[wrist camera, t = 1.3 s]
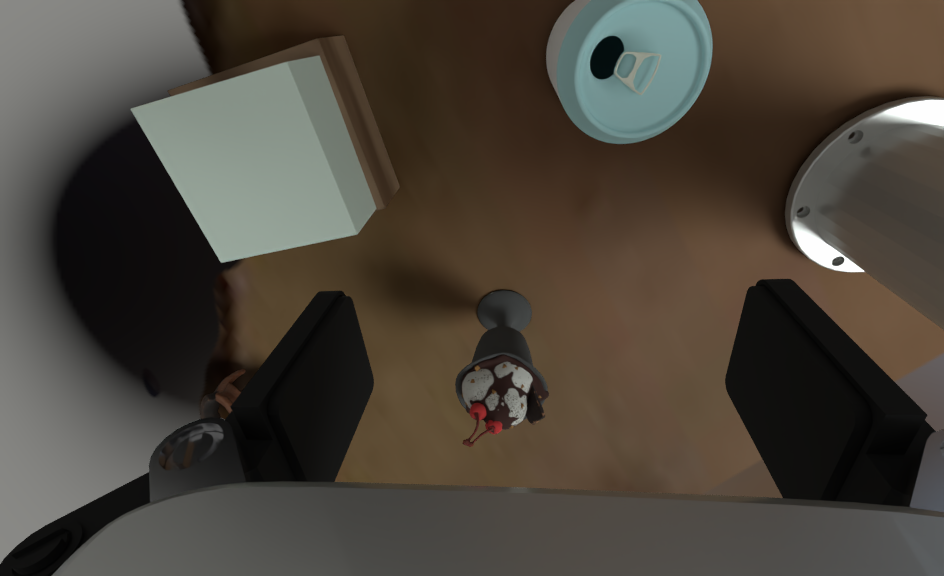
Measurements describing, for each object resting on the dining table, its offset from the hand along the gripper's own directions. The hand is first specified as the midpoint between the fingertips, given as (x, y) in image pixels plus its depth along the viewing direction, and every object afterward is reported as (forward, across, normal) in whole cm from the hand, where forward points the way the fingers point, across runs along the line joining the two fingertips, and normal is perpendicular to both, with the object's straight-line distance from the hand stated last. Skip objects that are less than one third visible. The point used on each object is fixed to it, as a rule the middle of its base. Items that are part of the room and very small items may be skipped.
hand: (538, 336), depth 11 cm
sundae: (+26, +3, +16) cm, 31 cm away
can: (+26, -4, -4) cm, 26 cm away
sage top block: (+20, +17, 0) cm, 26 cm away
